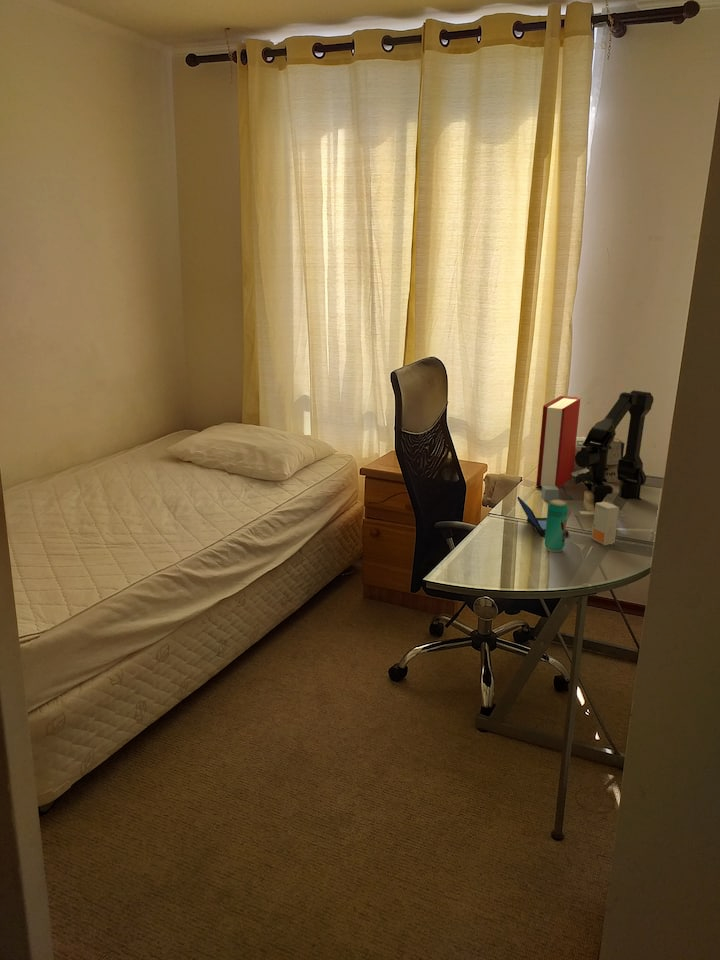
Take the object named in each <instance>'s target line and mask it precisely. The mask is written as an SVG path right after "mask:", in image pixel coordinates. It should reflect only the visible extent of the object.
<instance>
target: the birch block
mask: <svg viewBox="0 0 720 960" xmlns="http://www.w3.org/2000/svg"><path fill="white" fill-rule="evenodd" d="M605 499H606V497H605V498H604V500H603V501H602V502H605V501H606V500H605ZM583 501H584V503H583V506H584V507H585V508H586V509H587V510H589V511H595V508H594V495H593V493H592V492H591V491H587V490H584V495H583Z"/></svg>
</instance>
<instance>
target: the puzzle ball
mask: <svg viewBox="0 0 720 960" xmlns="http://www.w3.org/2000/svg"><path fill="white" fill-rule="evenodd" d="M585 439H586V437H585V436H583V435H577V437H576V447H575V456H576V454H577V452H579V451H581V447H586V446H583V443H584V441H585ZM591 443H593V442H591ZM581 469H586V467H579V466H578V465H577V464H576V462H575V457H574V467H573V472H575V471H578V470H581Z"/></svg>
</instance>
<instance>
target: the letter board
mask: <svg viewBox="0 0 720 960" xmlns="http://www.w3.org/2000/svg"><path fill="white" fill-rule="evenodd" d="M563 500H564V501H566V502H567V506H568V511H570V512H571V514H572V515H573V516H574V517H594V513H595V511H589V510H587V509H586V508H585V507H584V506H583V503H584V500H579V499H578V500H576V499H575V500H574V499H572V500H571V499H563ZM605 502H607V503H610V504H613V505H615V506H616V504H614V502H613V501H611V500H605ZM618 518H628V516H627V515H626V514H625V513H624V512H622V510H621V509H620V508H619V510H618Z"/></svg>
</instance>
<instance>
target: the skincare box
mask: <svg viewBox="0 0 720 960" xmlns="http://www.w3.org/2000/svg"><path fill="white" fill-rule="evenodd" d="M613 504H614V503H613ZM613 504H610V503H607V502H599V503H596V504H595V513H594V516H593V522H592V523H593V524H592V532H591V540H593V541H595V542H597V543H599V544H601V545H603V546H608V545H609V544H610V545H614V544H615V541H616V534H617V526H618V518H619V517H618V510H619V509H620V507H619V506H615V505H616V504H615V505H613ZM613 543H614V544H613Z"/></svg>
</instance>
